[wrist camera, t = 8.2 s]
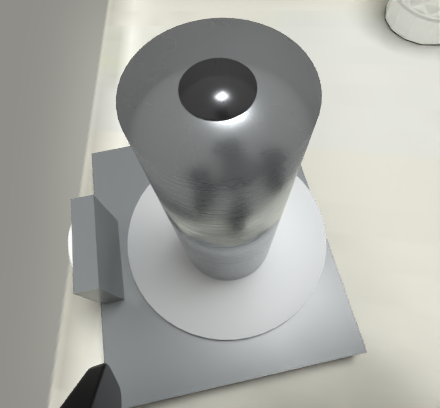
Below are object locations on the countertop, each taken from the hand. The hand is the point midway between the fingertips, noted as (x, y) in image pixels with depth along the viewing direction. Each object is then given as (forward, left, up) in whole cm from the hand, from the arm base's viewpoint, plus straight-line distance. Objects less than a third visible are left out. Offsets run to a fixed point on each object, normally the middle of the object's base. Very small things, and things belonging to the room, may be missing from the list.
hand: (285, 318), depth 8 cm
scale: (+6, +1, -13) cm, 14 cm away
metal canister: (+6, 0, -10) cm, 12 cm away
